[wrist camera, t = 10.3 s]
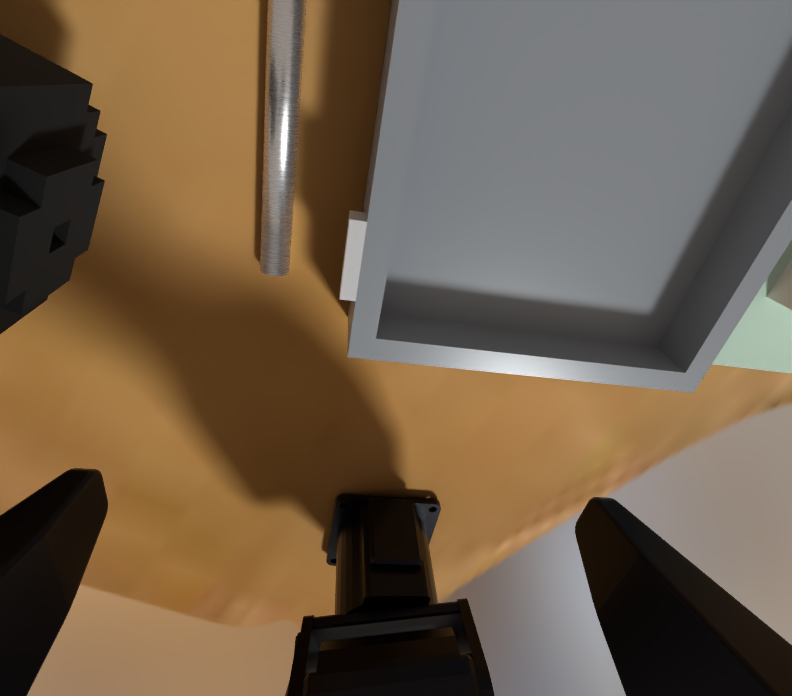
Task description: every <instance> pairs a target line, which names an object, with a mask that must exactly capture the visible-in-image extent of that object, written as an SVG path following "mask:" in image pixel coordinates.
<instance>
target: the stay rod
mask: <svg viewBox="0 0 792 696" xmlns="http://www.w3.org/2000/svg"><path fill="white" fill-rule="evenodd" d="M306 1H307V0H268V10H267V44H266V79H265V114H264V149H263V184H262V219H261V254H260V271H261V272H263V273H264V274H267V275H271V276H284V275H287V274H288V273H289V266H290V251H291V235H292V219H293V204H294V188H295V173H296V157H297V141H298V126H299V110H300V94H301V79H302V63H303V47H304V32H305V16H306Z"/></svg>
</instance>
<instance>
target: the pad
mask: <svg viewBox="0 0 792 696" xmlns="http://www.w3.org/2000/svg"><path fill="white" fill-rule="evenodd" d="M791 258H792V240H791V242H790V243H789V245H788V246H787V248H786V250H785V251H784V253H783V254H782V256H781V257H780V259H779V260H778V262H777V264H776V265H775V267H774V268H773V270H772V271H771V273H770V274H769V276H768V278H767V279H766V281H765V282H764V284H763V285H762V287H761V289H760V290H759V292H758V293H757V295H756V296H755V298H754V299H753V301H752V303H751V304H750V306H749V307H748V309H747V310H746V312H745V313H744V315H743V317H742V318H741V320H740V321H739V323H738V324H737V326H736V327H735V329H734V331H733V332H732V334H731V335H730V337H729V338H728V340H727V341H726V343H725V345H724V346H723V348H722V349H721V351H720V352H719V354H718V355H717V357H716V359H715V360H714V362H713V363H712V364H715V365H723V366H732V367H741V368H749V369H758V370H767V371H775V372H784V373H792V310H790V309H789V308H787V307H785V306H783V305H781V304H779V303H777V302H775V301H774V300H772V299H770V298H768V297H766V296H767V295H768V293H769V292H770V290H771V289H772V287H773V286H774V284H775V283H776V281H777V280H778V278H779V277H780V275H781V274H782V272H783V271H784V269H785V268H786V266H787V265H788V263H789V261H790V260H791Z"/></svg>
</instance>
